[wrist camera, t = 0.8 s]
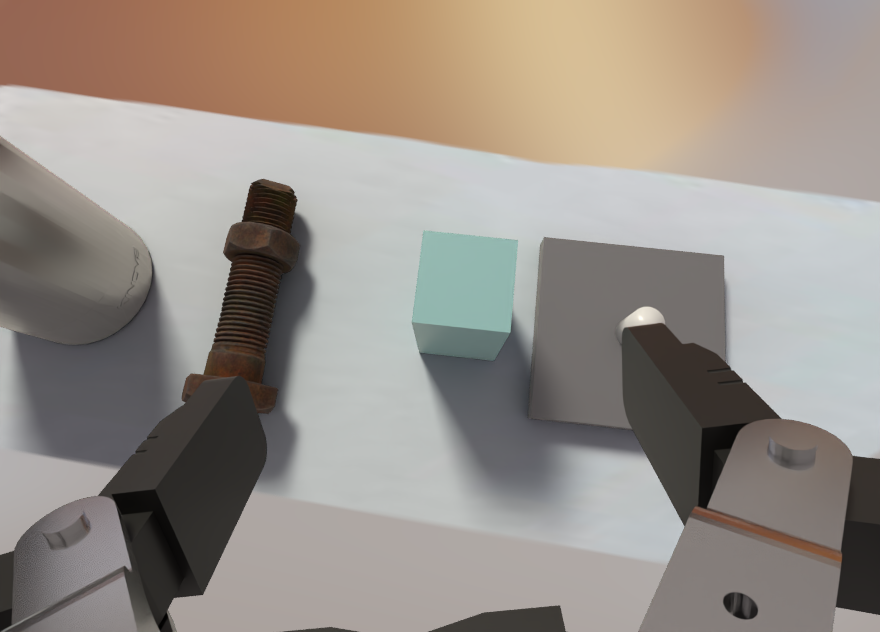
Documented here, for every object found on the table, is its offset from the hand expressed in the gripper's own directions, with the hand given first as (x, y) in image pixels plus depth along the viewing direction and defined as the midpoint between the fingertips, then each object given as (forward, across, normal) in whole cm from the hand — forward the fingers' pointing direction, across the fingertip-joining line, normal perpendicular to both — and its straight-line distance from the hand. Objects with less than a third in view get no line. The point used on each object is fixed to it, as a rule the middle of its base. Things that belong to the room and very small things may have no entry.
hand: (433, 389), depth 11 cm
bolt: (+25, +13, +6) cm, 29 cm away
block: (+24, 0, +9) cm, 25 cm away
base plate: (+23, -11, +11) cm, 28 cm away
